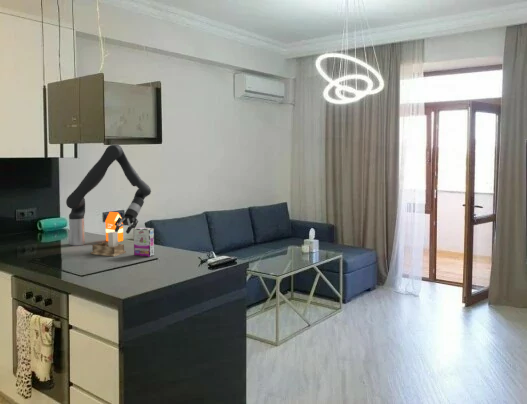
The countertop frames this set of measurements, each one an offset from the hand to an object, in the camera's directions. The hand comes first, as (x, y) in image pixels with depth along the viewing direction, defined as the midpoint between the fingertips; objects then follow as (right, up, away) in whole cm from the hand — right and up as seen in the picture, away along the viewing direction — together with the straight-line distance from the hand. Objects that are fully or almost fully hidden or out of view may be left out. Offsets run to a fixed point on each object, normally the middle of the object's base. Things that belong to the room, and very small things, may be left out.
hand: (121, 232), depth 296 cm
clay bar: (-3, -11, -6) cm, 13 cm away
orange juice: (-15, -8, +35) cm, 39 cm away
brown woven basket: (-6, -12, -5) cm, 15 cm away
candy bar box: (+16, -13, -9) cm, 23 cm away
